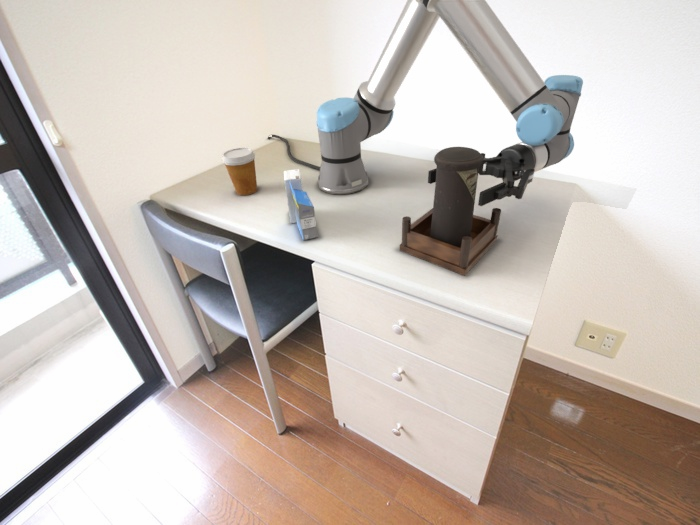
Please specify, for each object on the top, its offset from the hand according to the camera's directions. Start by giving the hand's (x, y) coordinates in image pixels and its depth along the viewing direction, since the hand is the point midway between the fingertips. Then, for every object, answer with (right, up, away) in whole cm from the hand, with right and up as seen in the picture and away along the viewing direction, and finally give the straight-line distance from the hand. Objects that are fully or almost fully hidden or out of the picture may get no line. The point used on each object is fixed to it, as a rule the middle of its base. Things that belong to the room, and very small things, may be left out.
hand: (453, 187), depth 74 cm
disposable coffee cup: (-52, +7, +39) cm, 66 cm away
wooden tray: (+1, -11, +8) cm, 14 cm away
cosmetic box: (-34, -3, +24) cm, 42 cm away
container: (+1, -10, +8) cm, 13 cm away
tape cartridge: (-31, -7, +18) cm, 37 cm away
